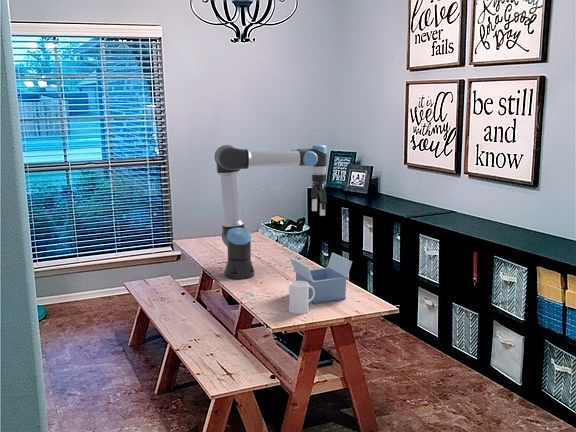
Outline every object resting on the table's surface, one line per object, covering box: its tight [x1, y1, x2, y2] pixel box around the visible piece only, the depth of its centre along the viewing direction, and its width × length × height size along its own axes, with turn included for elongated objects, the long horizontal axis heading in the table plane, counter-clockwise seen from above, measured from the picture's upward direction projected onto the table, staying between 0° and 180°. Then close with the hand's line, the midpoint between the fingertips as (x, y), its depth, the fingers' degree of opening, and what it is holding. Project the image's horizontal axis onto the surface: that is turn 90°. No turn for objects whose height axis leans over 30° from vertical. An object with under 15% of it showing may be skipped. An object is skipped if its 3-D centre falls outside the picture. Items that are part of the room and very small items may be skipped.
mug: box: [288, 280, 315, 315], centre depth 255 cm, size 12×8×12 cm
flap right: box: [326, 252, 353, 278], centre depth 276 cm, size 7×18×1 cm
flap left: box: [289, 256, 314, 282], centre depth 268 cm, size 7×18×1 cm
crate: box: [295, 267, 347, 305], centre depth 274 cm, size 16×18×10 cm
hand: (318, 213), depth 326 cm, fingers open, 13 cm apart
